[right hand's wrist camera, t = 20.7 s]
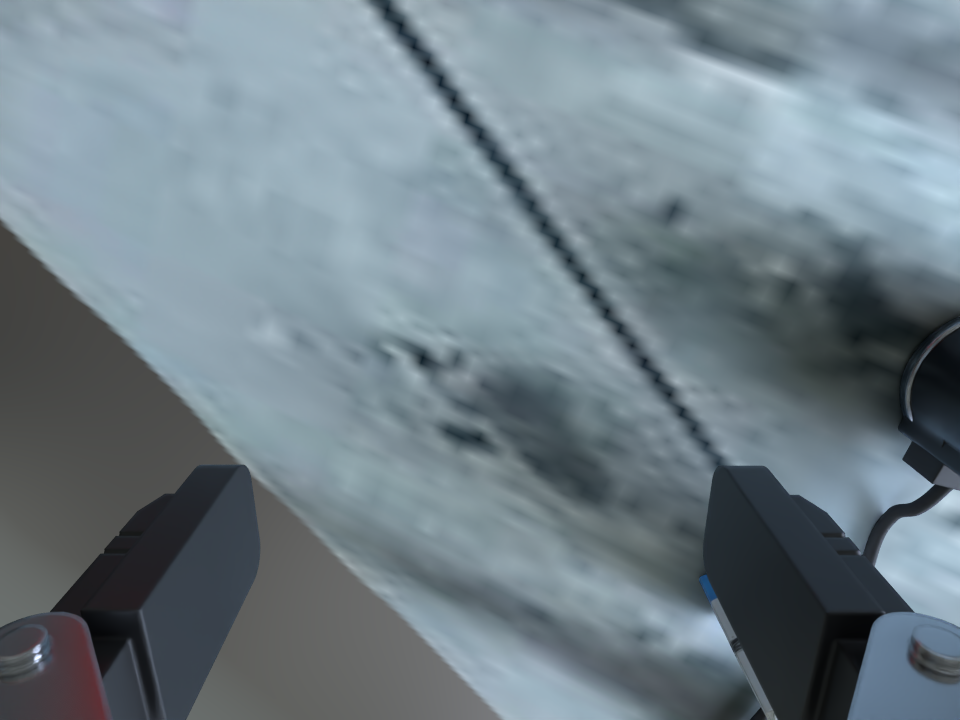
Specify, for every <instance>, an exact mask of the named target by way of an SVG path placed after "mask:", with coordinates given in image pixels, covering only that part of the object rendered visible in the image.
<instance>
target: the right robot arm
mask: <svg viewBox="0 0 960 720" xmlns="http://www.w3.org/2000/svg"><path fill="white" fill-rule="evenodd" d="M900 404H901V409H902V412H903V414H904V416H903V419H902V421H901V423H900V425H899V427H898V430H899V431H900V432H901V433H902V434H904V435H905V436H906V437H908V438H909V439H910V440H912V443H911V445H910V446H909V448H908V450H907V452H906V454H905V455H904V457H903V461H905V462H906V463H907V464H908V465H910V466H911V467H912V468H913V469H915V470H916V471H917V472H918V473H920V474H921V475H922V476H923V477H924V478H926V479H927V480H928V481H929V482H931V483H932V484H935V485H934V486H933V487H932V488H931V489H930V490H929V491H927V492H926V493H925V494H924V495H923V496H921V497H920V498H919V499H917V500H915V501H914V502H911V503H908V504H898V505H894V506H892V507H890V508H889V509H888V510H887V511H886V512H885V513H884V514H883V515H882V516H881V518H880V519H879V520H878V521H877V523H876V524H875V526H874V528H873V529H872V531H871V534H870V536H869V538H868V541H867V544H866V547H865V550H864V553H863V555H861V554H860V550H859V549H858V548H857V546H856V545H855V544H854V543H853V542H852V541H851V540H850V538H846V537H845V533H844V532H843V530H842V529H841V528H840V527H839V526H838V525H837V524H836V523H835V521H834V520H833V519H832V518H831V517H830V516H829V515H828V513H827V512H825V511H823V510H822V509H820V508H819V507H817V506H815V505H814V504H812V503H811V502H809V501H808V500H806V499H804V498H803V497H801V496H800V495H789V494H788V492H787V491H786V490H785V489H784V488H783V486H782V485H781V484H780V483H779V482H778V480H777V479H776V478H775V477H774V475H773V474H772V473H771V472H770V471H769V469H768V468H766V467H765V466H718V467H717V468H716V470H715V472H714V475H713V479H712V486H711V493H710V500H709V507H708V514H707V521H706V528H705V535H704V542H703V557H704V565H705V570H706V574H707V577H708V580H709V582H710V584H711V586H712V588H713V590H714V592H715V594H716V596H717V598H718V600H719V602H720V604H721V606H722V608H723V610H724V612H725V614H726V616H727V618H728V620H729V623H730V625H731V627H732V629H733V631H734V633H735V635H736V637H737V639H738V641H739V643H740V645H741V647H742V649H743V651H744V653H745V655H746V657H747V659H748V661H749V663H750V665H751V667H752V669H753V671H754V673H755V675H756V677H757V679H758V681H759V683H760V685H761V687H762V689H763V691H764V693H765V695H766V697H767V699H768V701H769V703H770V705H771V707H772V709H773V711H774V713H775V715H776V718H777V720H960V627H958V626H956V625H954V624H951V623H949V622H946V621H944V620H941V619H938V618H935V617H932V616H928V615H924V614H920V613H915V612H914V611H913V610H912V609H911V608H910V607H909V606H908V604H907V603H906V602H905V601H904V600H903V599H902V598H901V596H900V595H899V594H898V593H897V592H896V591H895V590H894V588H893V587H892V586H891V585H890V584H889V583H888V582H887V581H886V579H885V578H884V577H883V576H882V575H881V574H880V573H879V571H878V570H877V569H876V568H875V563H876V560H877V556H878V553H879V550H880V547H881V544H882V542H883V540H884V537H885V535H886V534H887V532H888V530H889V529H890V528H891V526H892V525H893V524H894V523H895V522H896V521H897V520H898V519H900V518H902V517H912V516H917V515H920V514H922V513H924V512H926V511H927V510H929V509H931V508H932V507H933V506H935V505H936V504H937V503H938V502H939V501H941V500H942V499H943V498H944V497H945V496H946V495H947V494H948V493H949V492H950V491H952V490H953V489H956V490H960V317H957V318H955V319H953V320H951V321H949V322H947V323H946V324H944V325H943V326H941V327H940V328H938V329H937V330H936V331H934V332H933V333H932V334H931V335H930V336H928V337H927V338H926V339H925V340H924V341H923V342H922V343H921V345H920V346H919V347H918V348H917V349H916V351H915V352H914V354H913V355H912V357H911V358H910V360H909V362H908V364H907V366H906V368H905V370H904V373H903V376H902V380H901V385H900ZM259 560H260V538H259V531H258V524H257V517H256V510H255V503H254V495H253V489H252V481H251V475H250V472H249V470H248V468H247V467H246V466H245V465H199V466H197V467H196V468H195V469H194V471H193V472H192V473H191V474H190V475H189V477H188V478H187V479H186V480H185V482H184V483H183V484H182V485H181V487H180V488H179V489H178V490H177V492H176V493H175V494H164V495H162V496H161V497H159V498H158V499H156V500H155V501H153V502H151V503H150V504H148V505H147V506H145V507H144V508H142V509H140V510H139V511H137V512H136V514H135V515H134V516H133V517H132V518H131V519H130V520H129V522H128V523H127V524H126V525H125V526H124V527H123V528H122V530H121V531H120V534H119V536H116V537H115V538H114V539H113V540H112V541H111V542H110V543H109V545H108V546H107V547H106V548H105V551H104V554H100V555H99V556H98V557H97V558H96V560H95V561H94V562H93V563H92V564H91V565H90V566H89V568H88V569H87V570H86V571H85V572H84V573H83V574H82V576H81V577H80V578H79V579H78V580H77V581H76V583H75V584H74V585H73V586H72V587H71V588H70V589H69V590H68V592H67V593H66V594H65V595H64V596H63V597H62V599H61V600H60V601H59V602H58V603H57V604H56V605H55V607H54V608H53V609H52V610H51V611H50V612H48V613H41V614H36V615H32V616H28V617H25V618H22V619H19V620H16V621H14V622H11V623H9V624H6V625H4V626H2V627H0V720H186V719H187V717H188V715H189V713H190V711H191V709H192V706H193V704H194V702H195V700H196V698H197V696H198V694H199V692H200V690H201V688H202V686H203V684H204V682H205V680H206V678H207V676H208V674H209V672H210V670H211V668H212V666H213V663H214V661H215V659H216V657H217V655H218V653H219V651H220V649H221V647H222V645H223V643H224V641H225V639H226V637H227V635H228V633H229V631H230V629H231V627H232V625H233V623H234V621H235V618H236V616H237V614H238V612H239V610H240V608H241V606H242V604H243V602H244V600H245V598H246V596H247V594H248V592H249V590H250V588H251V586H252V584H253V582H254V579H255V577H256V574H257V570H258V566H259ZM750 720H767V717H766V716H765V714H764V712H763V710H762V708H760V709H759V710H758V711H757V712H756V714H755V715H754V716H753V717H752V718H751V719H750Z"/></svg>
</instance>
